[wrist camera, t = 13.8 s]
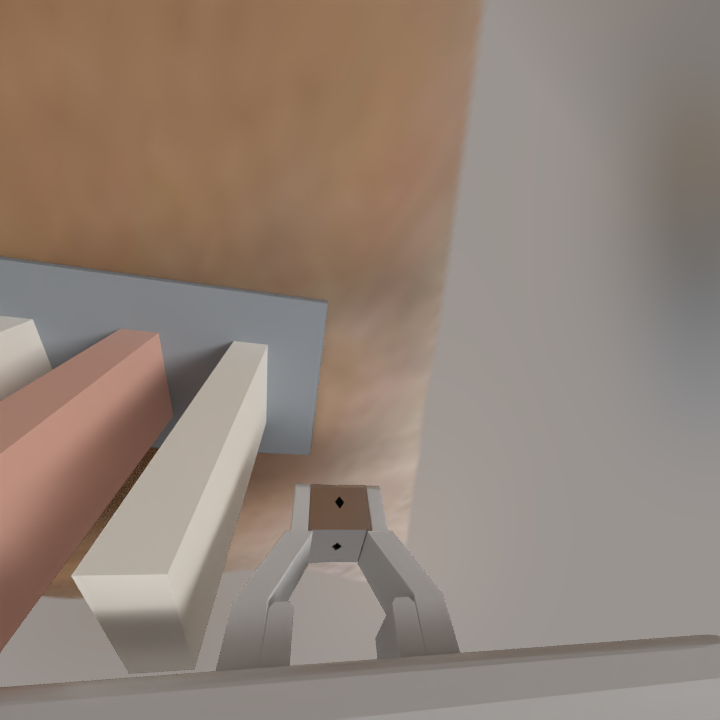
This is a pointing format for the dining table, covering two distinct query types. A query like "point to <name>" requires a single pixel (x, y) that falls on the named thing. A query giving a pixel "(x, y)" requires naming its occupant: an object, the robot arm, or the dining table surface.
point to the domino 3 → (179, 522)
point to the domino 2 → (71, 457)
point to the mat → (179, 333)
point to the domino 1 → (20, 355)
